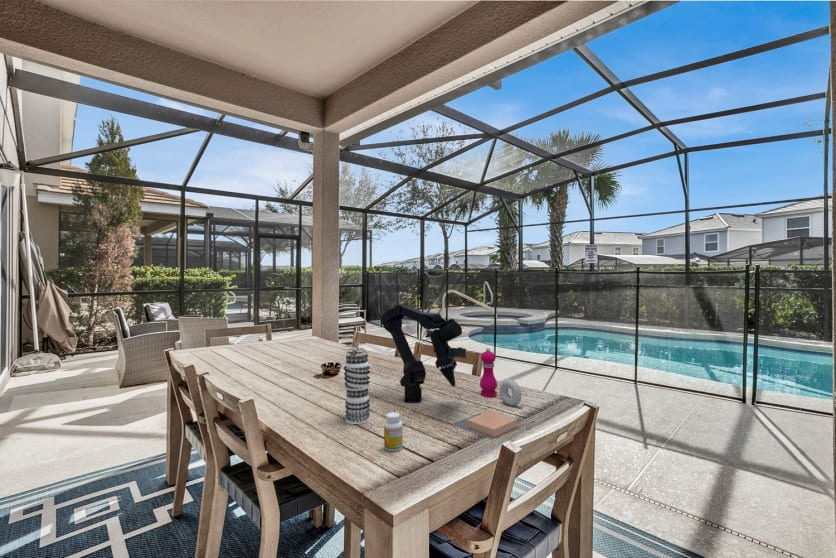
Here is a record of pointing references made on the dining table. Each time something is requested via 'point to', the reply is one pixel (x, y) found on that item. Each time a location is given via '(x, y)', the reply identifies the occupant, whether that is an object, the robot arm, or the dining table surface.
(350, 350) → the decorative candle
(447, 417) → the dining table surface
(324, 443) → the dining table surface
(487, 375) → the pepper mill
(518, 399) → the donut
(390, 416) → the supplement bottle
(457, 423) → the rubber mat
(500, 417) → the terracotta tile
